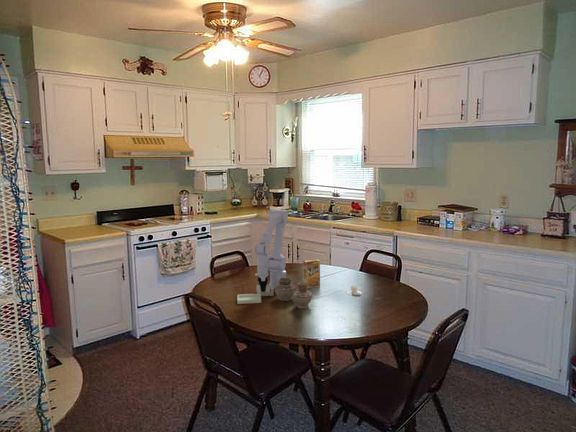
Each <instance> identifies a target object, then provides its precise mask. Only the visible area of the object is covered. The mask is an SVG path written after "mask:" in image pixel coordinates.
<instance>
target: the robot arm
mask: <svg viewBox="0 0 576 432" xmlns="http://www.w3.org/2000/svg"><path fill="white" fill-rule="evenodd" d="M288 217H289V215H288V211H287V209H276V208H275V209H274V208H271V209H269V211H268V213H267V218H268V222H267V225H266V229H265V231H263V233H262V234H261V237H260V240H259V242H258V244H256V245H255V247H254V252H255V253H254V254H255V257H256V266H257V268H256V269H257V270H256V271H257V273H255V276H256V277H257V282H259V284H260V288H261V292H265V291H266V285H267V282H268V281H269V282H270V285H273V288H274V287H275V286H276V285H278V284H279V279H280V278H287V271H286V270H285V269H286V257H285V255H283V254H282V252H283V251H282V250H283V242H284V234H285V226H287V224H288ZM273 231H274V232H275V233H274V236H273ZM273 238H274V239H273ZM272 239H273V247H272V253H271V254H270V252H271V243H272ZM269 254H270V255H269ZM268 277H269V278H268Z"/></svg>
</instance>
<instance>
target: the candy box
mask: <svg viewBox="0 0 576 432" xmlns="http://www.w3.org/2000/svg"><path fill="white" fill-rule="evenodd" d="M302 263H303V273H302V275H303V282H306V283H308V285H307V289H310V288H317V287H321V260H320V259H318V258H316V259H307V260H306V259H305V260H303V262H302Z"/></svg>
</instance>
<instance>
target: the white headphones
mask: <svg viewBox="0 0 576 432" xmlns="http://www.w3.org/2000/svg"><path fill="white" fill-rule="evenodd" d="M350 289H351V290H348V291H346V294H348V295H350V296H360V295H362V291H359V290H358V286H357V285H351V286H350ZM350 292H351V293H350Z"/></svg>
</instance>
